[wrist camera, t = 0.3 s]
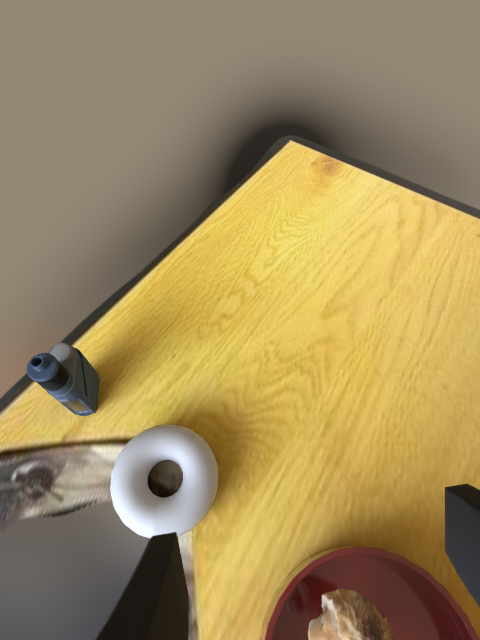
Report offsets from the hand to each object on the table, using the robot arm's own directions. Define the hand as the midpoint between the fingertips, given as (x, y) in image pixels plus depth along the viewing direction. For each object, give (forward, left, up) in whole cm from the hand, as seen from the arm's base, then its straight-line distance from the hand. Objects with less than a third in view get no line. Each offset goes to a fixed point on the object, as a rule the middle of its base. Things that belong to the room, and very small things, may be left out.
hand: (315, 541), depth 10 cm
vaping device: (+16, +16, -29) cm, 37 cm away
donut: (+6, +8, -29) cm, 31 cm away
